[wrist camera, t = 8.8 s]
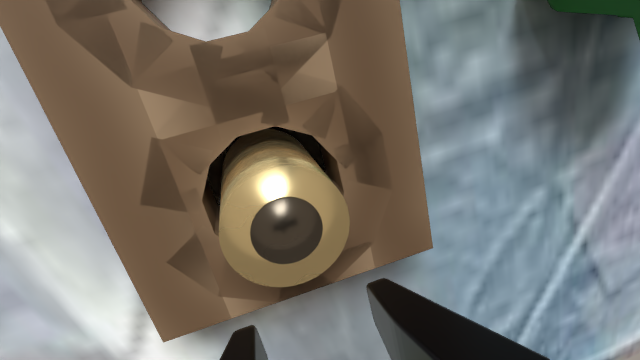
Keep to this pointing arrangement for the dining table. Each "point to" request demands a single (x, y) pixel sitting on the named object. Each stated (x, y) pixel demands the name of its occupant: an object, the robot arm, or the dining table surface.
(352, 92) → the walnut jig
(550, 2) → the clamp
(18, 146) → the dining table surface
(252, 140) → the brass sleeve
